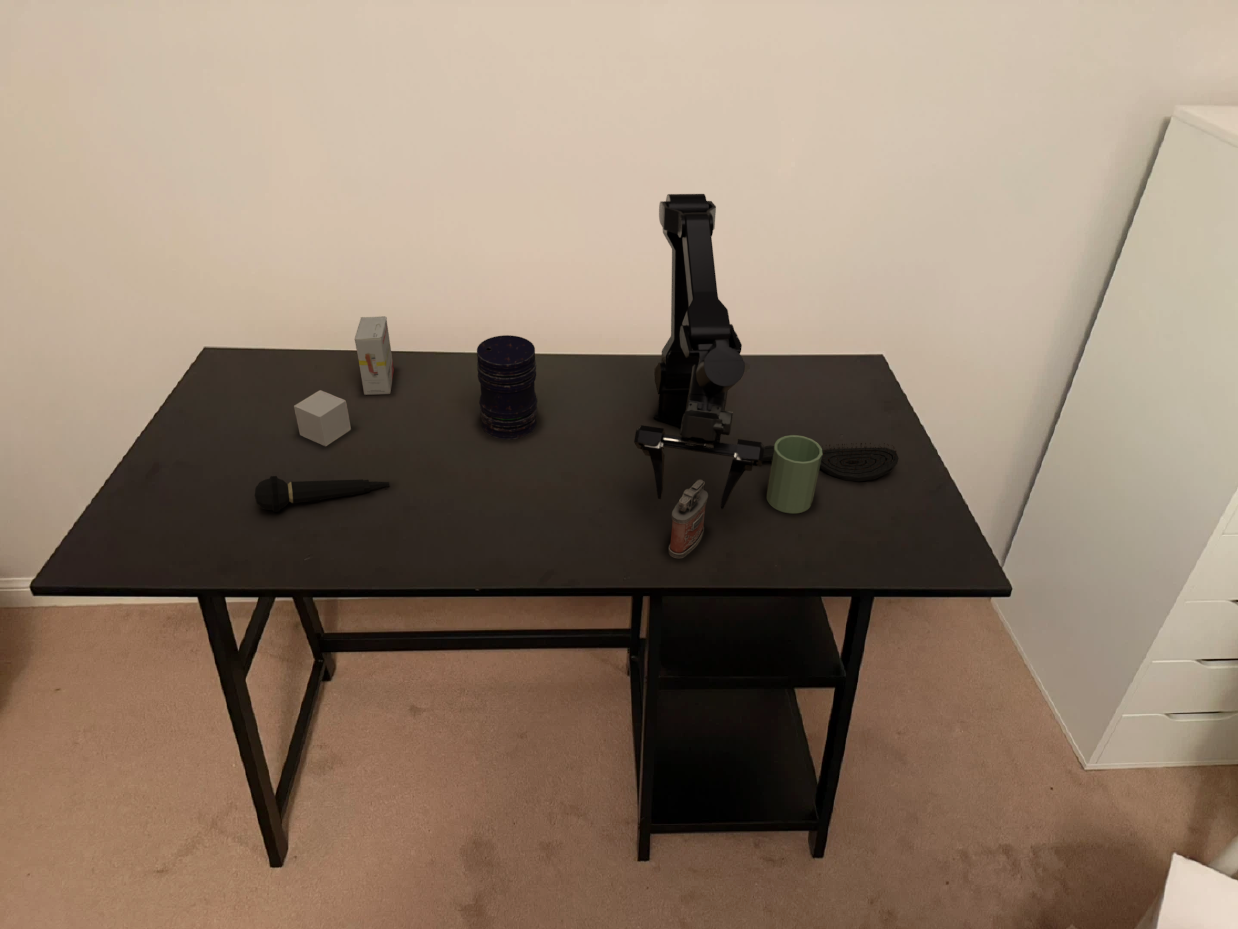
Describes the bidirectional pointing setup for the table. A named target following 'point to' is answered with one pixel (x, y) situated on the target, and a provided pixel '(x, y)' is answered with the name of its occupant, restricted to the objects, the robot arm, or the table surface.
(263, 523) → the table surface
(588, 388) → the table surface
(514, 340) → the storage jar
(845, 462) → the hairbrush
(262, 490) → the microphone
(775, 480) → the pen cup
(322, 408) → the light grey cube
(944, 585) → the table surface
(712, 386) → the robot arm
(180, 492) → the table surface
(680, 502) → the lighter
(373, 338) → the ink box
